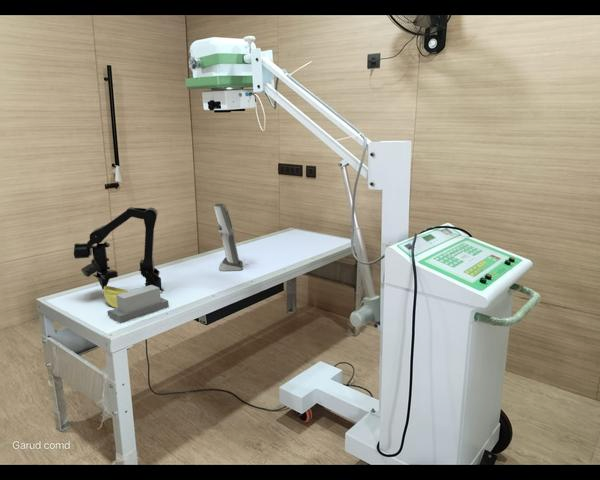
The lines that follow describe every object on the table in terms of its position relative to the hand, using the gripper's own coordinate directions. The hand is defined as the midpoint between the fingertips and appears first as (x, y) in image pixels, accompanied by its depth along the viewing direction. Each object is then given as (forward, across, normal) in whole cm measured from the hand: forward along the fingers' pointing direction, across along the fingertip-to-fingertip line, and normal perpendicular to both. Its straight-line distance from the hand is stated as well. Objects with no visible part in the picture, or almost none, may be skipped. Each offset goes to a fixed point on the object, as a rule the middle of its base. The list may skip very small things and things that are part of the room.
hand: (104, 289), depth 221 cm
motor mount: (+3, +30, 0) cm, 30 cm away
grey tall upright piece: (+3, +13, +65) cm, 67 cm away
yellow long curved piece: (+4, +16, +1) cm, 17 cm away
